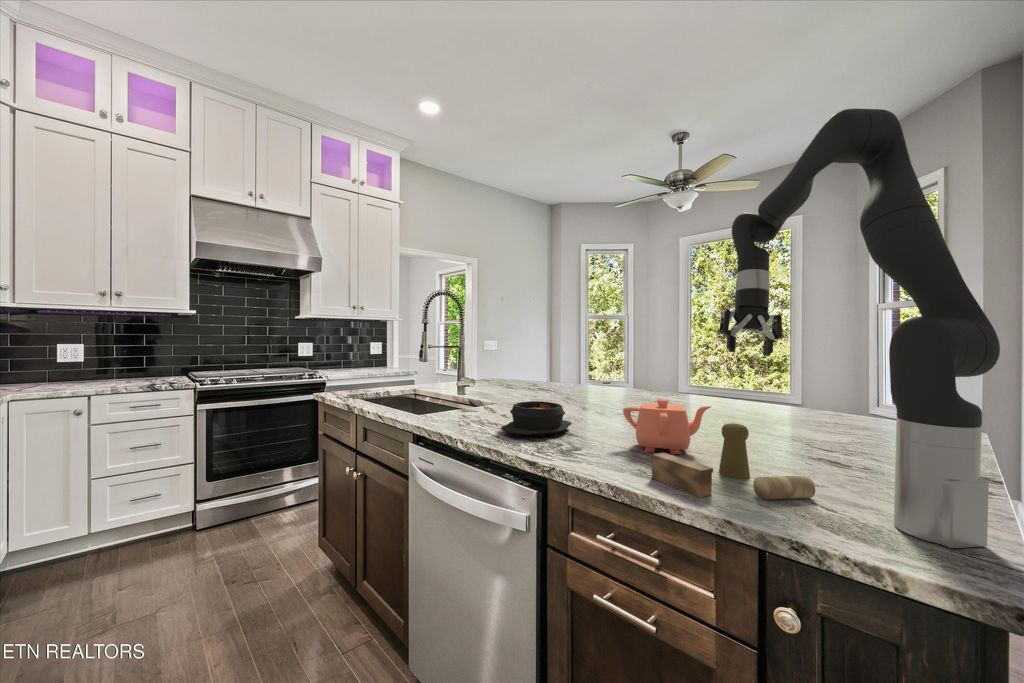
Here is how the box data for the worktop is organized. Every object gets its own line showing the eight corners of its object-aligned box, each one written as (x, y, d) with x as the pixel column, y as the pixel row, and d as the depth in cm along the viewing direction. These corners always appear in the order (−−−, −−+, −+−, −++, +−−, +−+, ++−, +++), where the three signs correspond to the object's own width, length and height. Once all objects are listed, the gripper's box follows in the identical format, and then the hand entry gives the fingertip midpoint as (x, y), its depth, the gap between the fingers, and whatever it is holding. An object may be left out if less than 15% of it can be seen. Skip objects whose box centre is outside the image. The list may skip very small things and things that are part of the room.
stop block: (712, 494, 81) (713, 468, 81) (700, 497, 79) (701, 470, 79) (663, 475, 91) (663, 452, 91) (651, 478, 90) (652, 454, 90)
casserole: (540, 421, 147) (541, 397, 147) (585, 430, 134) (586, 404, 134) (486, 433, 129) (487, 405, 129) (532, 444, 116) (533, 413, 116)
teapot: (619, 446, 116) (620, 397, 116) (659, 439, 124) (660, 394, 124) (670, 462, 102) (670, 407, 101) (711, 453, 110) (712, 402, 109)
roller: (798, 493, 83) (798, 472, 83) (815, 501, 79) (815, 479, 79) (753, 495, 81) (753, 474, 81) (768, 503, 77) (768, 480, 77)
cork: (754, 480, 89) (755, 427, 89) (722, 478, 90) (723, 426, 90) (744, 471, 95) (745, 422, 95) (715, 469, 96) (716, 420, 96)
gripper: (730, 284, 105) (727, 349, 104) (789, 289, 104) (787, 355, 103) (717, 291, 113) (713, 352, 111) (772, 296, 112) (770, 357, 110)
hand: (749, 353), depth 107 cm, fingers open, 8 cm apart
